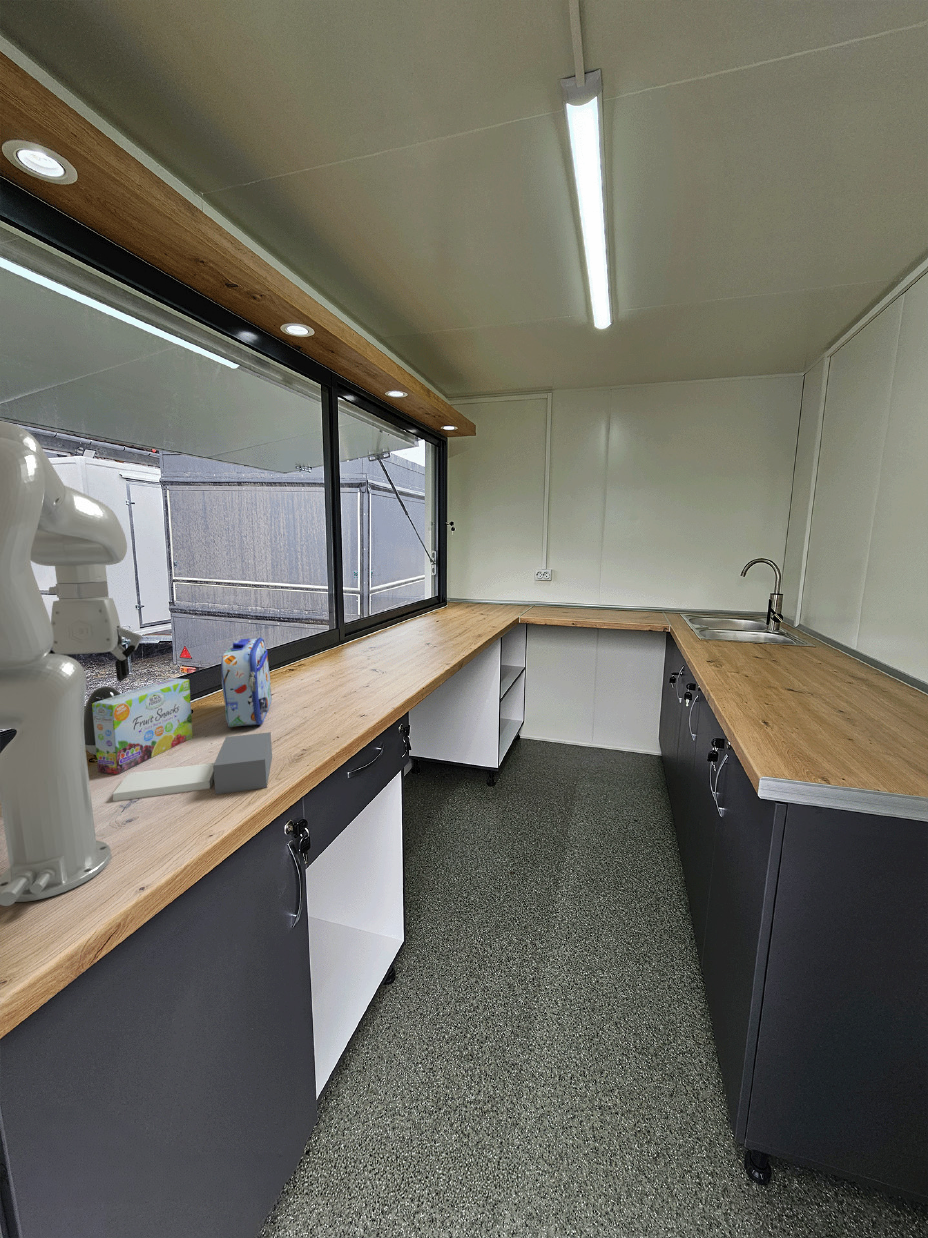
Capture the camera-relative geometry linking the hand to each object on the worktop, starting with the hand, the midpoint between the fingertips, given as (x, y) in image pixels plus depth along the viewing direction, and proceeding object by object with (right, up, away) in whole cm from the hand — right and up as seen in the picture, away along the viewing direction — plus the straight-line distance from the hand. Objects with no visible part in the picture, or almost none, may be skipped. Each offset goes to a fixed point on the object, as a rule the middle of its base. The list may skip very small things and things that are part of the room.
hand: (93, 681), depth 96 cm
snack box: (0, -19, +17) cm, 25 cm away
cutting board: (+13, -21, +2) cm, 25 cm away
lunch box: (+12, -15, +42) cm, 46 cm away
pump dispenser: (-10, -19, +18) cm, 28 cm away
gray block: (+26, -20, +6) cm, 33 cm away
